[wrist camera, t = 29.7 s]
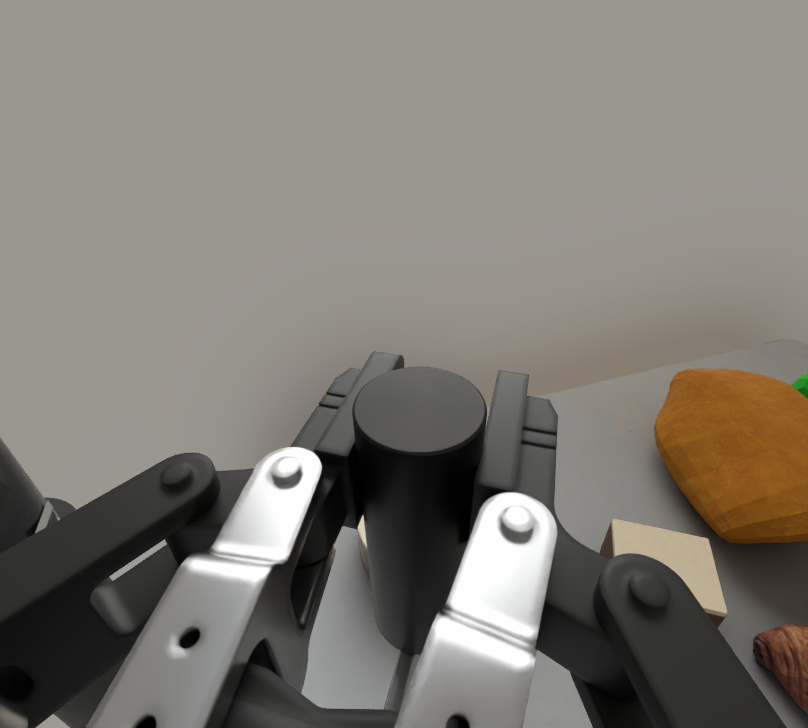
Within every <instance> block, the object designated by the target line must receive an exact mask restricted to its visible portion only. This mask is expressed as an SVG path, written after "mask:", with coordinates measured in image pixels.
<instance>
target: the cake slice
mask: <svg viewBox="0 0 808 728" xmlns="http://www.w3.org/2000/svg"><path fill="white" fill-rule="evenodd" d="M627 553H634V554H641V555H646V556H648V557H651V558H654V559H656V560H658V561H660V562H662V563H663V564H665V565H667V566H668V567H669V568H671V569H672V570H673V571H675V572H676V573H677V574H678V575H679V576H680V577H681V578H682V579H683V581H684V582H685V583H686V585H687V586H688V587H689V589H690V590H691V592H692V593H693V594H694V596H695V597H696V599H697V600H698V602H699V603H700V604H701V606H702V607H703V609H704V610H705V612H706V613H707V615H708V616H709V617H710V619H711V620H712V622H713V623H714V625H715V626H716V627H717V628H718V626H719V625H720V624H721V622H722V621H723V620H724V618H725V617H726V616H727V614H728V613H727V609H726V605H725V601H724V597H723V593H722V589H721V585H720V582H719V578H718V574H717V570H716V566H715V562H714V558H713V555H712V551H711V547H710V543H709V539H708V538H703V537H698V536H694V535H689V534H684V533H679V532H675V531H670V530H665V529H660V528H655V527H651V526H646V525H641V524H636V523H632V522H627V521H622V520H617V519H612V521H611V524H610V526H609V529H608V531H607V534H606V537H605V539H604V542H603V545H602V547H601V550H600V554H601V555H603V556H605V557H606V558H608V559H611V558H613V557H615V556H617V555H621V554H627Z"/></svg>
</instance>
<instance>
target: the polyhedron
mask: <svg viewBox="0 0 808 728" xmlns="http://www.w3.org/2000/svg"><path fill="white" fill-rule="evenodd" d="M792 387H794V388H795V389H796V390H797V391H799V392H800V393H801V394H802V395H804V396H805V397H806V398H807V399H808V374H806V375H803V376H801V377H800V378H799V379H798V380H797V381H796V382H795V383H794V384H793V385H792Z"/></svg>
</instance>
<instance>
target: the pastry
mask: <svg viewBox="0 0 808 728" xmlns="http://www.w3.org/2000/svg"><path fill="white" fill-rule="evenodd" d="M753 646H754V649H753V652H754V655H755V658H756V661H757V663H758V664H759V665H760V666H763V667H765V668H768V669H769V670H771V671H772V672H773V673H774V675H775V676H776V678H777V679H778V681H779V682H780V683H781V684H782V686H783V688H784V689H785V690H786V692H787V693H788V694H789V695H790V696H791V698H792V699H793V700H794V701H795V703H796V704H797V705H798V706H799V707H800V708H801V709H802V710H803V711H804V712H805V713H806V714H807V715H808V625H807V626H797V627H796V626H793V625H791V624H787V625H781V626H779V627H776V628H774V629H772V630H770V631H767V632H763V633H760V634H758V635H757V636H756V637H755V638H754V640H753Z"/></svg>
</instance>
